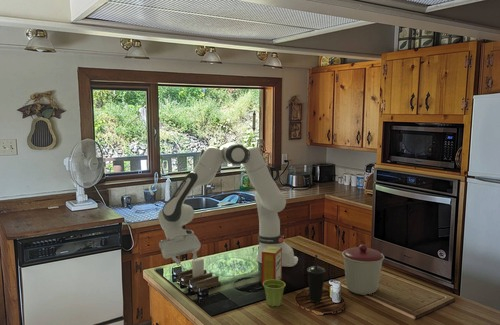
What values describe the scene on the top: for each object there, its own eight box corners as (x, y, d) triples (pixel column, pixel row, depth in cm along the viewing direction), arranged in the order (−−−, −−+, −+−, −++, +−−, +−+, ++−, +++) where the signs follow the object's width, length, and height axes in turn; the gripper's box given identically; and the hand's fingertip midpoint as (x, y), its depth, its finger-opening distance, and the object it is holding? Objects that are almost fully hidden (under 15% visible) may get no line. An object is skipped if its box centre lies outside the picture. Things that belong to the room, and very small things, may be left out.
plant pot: (271, 296, 180) (271, 277, 179) (289, 302, 174) (289, 283, 173) (258, 304, 172) (258, 284, 171) (276, 311, 166) (276, 290, 165)
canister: (354, 301, 175) (355, 253, 172) (334, 284, 192) (335, 240, 190) (391, 296, 180) (393, 249, 177) (368, 280, 197) (370, 237, 195)
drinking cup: (323, 297, 179) (324, 252, 177) (325, 305, 171) (326, 258, 169) (306, 296, 180) (306, 251, 177) (306, 304, 172) (307, 257, 170)
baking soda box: (274, 286, 190) (275, 252, 188) (261, 284, 193) (261, 250, 191) (281, 279, 199) (281, 246, 197) (268, 276, 202) (268, 245, 200)
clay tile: (192, 281, 193) (192, 260, 191) (201, 278, 196) (201, 258, 195) (195, 282, 191) (194, 261, 190) (204, 279, 194) (203, 259, 193)
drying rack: (176, 282, 195) (176, 273, 194) (200, 274, 204) (200, 266, 204) (195, 293, 183) (195, 283, 183) (220, 284, 192) (220, 275, 192)
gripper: (159, 237, 196) (170, 263, 190) (195, 229, 210) (207, 253, 204) (155, 244, 200) (166, 269, 194) (190, 236, 214) (202, 259, 208)
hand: (187, 261), depth 199 cm, fingers open, 8 cm apart
